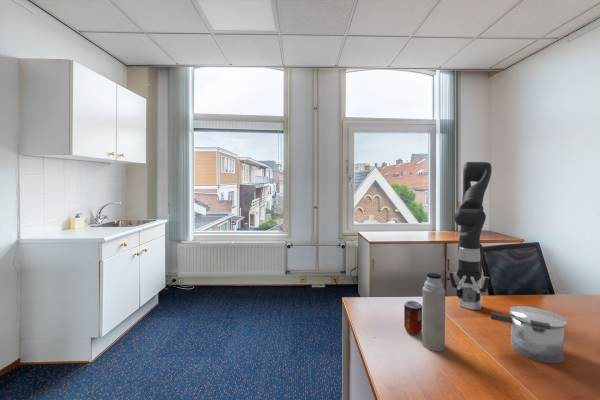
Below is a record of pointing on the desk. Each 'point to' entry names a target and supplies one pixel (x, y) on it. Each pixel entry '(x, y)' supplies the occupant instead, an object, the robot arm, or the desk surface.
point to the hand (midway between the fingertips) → (468, 299)
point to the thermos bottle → (433, 313)
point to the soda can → (413, 317)
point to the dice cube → (468, 294)
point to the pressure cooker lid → (538, 317)
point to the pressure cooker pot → (534, 340)
